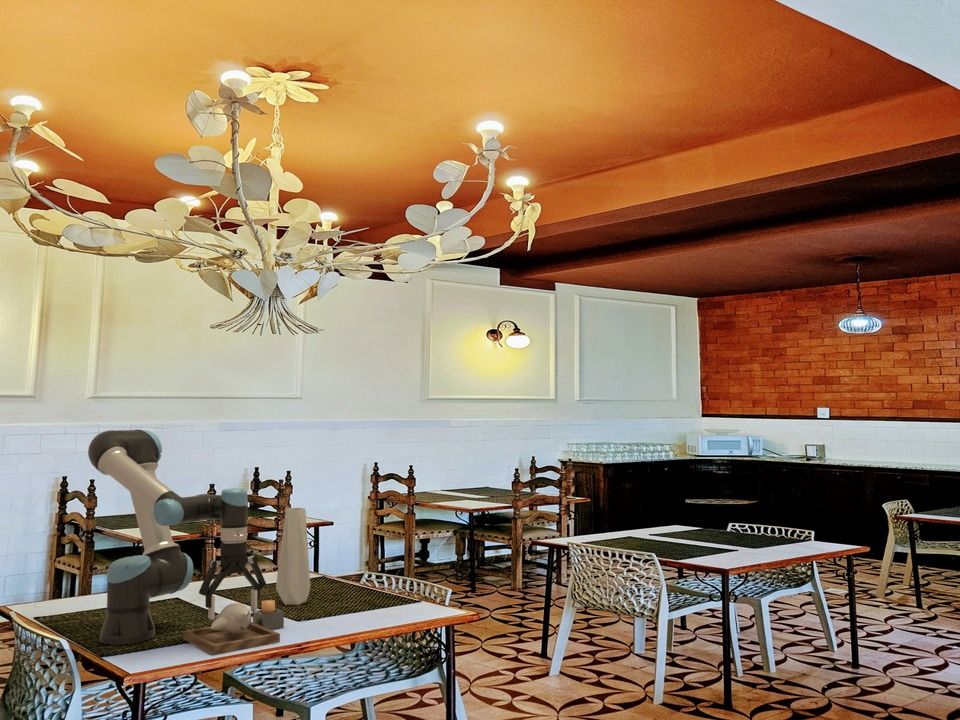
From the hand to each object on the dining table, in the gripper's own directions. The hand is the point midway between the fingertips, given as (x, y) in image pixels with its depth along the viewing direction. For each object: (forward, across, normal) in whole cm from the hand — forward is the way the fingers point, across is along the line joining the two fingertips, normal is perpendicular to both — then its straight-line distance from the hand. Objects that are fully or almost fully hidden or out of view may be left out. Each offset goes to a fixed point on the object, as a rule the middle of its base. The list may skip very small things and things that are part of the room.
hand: (233, 615), depth 242 cm
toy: (+5, 0, 0) cm, 5 cm away
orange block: (+4, +14, +6) cm, 16 cm away
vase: (+7, +37, +32) cm, 49 cm away
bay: (+7, -1, -1) cm, 7 cm away
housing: (+7, +14, +6) cm, 17 cm away
